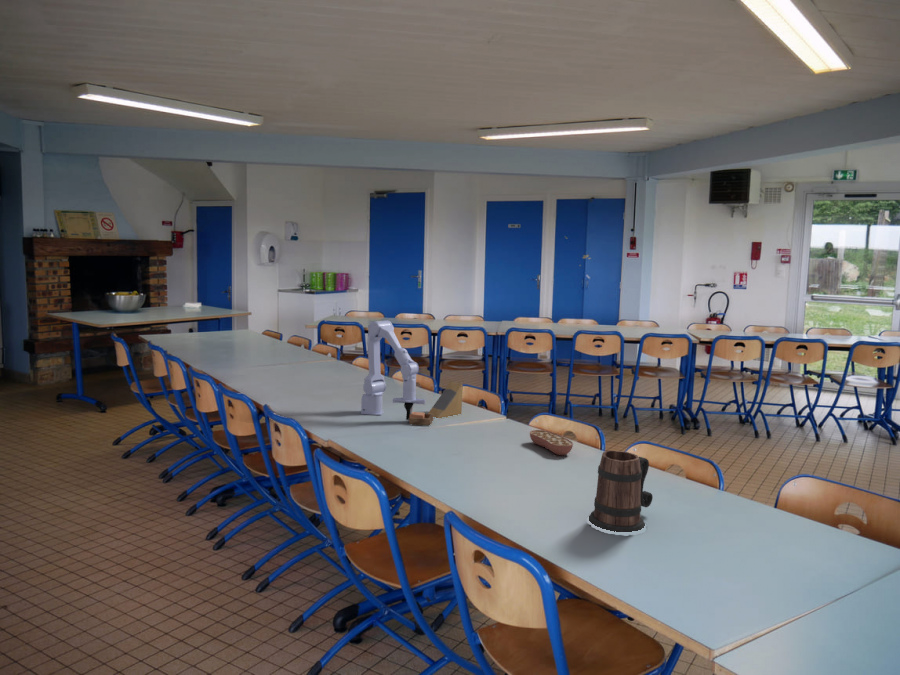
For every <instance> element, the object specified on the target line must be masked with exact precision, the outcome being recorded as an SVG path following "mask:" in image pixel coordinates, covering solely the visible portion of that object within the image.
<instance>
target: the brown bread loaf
mask: <svg viewBox="0 0 900 675" xmlns="http://www.w3.org/2000/svg"><path fill="white" fill-rule="evenodd" d="M529 437H530V440H531V442H532V443H534V444H536V445H538V446H540V447H543V448H544V447H545V449H547V450H548V449H549V451H550V452H552V453H554V454H555V455H557V456H565V455H568V454H569V453H570V452H571V451H572V450H573V447H574V446H573V445H574V443H573V441H571V440H570V439H568V438H566V437H564V436H562V435H559V433H558V434H557V433H554V432H552V431H549V430H545V429H543V430H542V429H534V430H531V431H529Z"/></svg>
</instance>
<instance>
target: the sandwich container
mask: <svg viewBox="0 0 900 675" xmlns="http://www.w3.org/2000/svg"><path fill="white" fill-rule="evenodd" d="M462 407H463V383H461V382H460V383H459V382H456V381H452V380H451V381H450V382H449V383H448V384H447V386H446V387H445V389H444V390H443V392H442V393H441V395H440V396H439V397H438V399H437V400H436V402H435V403H434V404H433V406H432V407H431V409H430V410H429V411H428V413H427V414H433V417H436V418H441V419H443V418H442V417H446V418H449V417H448V416H452V417H454V416H453V415H457V416H459V415H458V414H461V415H462Z"/></svg>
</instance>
